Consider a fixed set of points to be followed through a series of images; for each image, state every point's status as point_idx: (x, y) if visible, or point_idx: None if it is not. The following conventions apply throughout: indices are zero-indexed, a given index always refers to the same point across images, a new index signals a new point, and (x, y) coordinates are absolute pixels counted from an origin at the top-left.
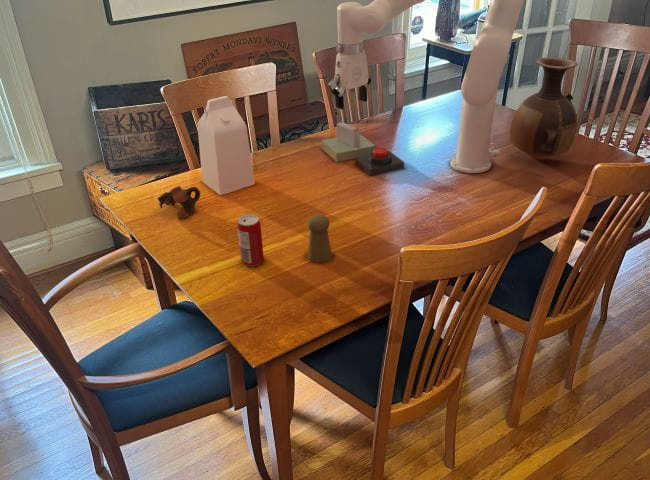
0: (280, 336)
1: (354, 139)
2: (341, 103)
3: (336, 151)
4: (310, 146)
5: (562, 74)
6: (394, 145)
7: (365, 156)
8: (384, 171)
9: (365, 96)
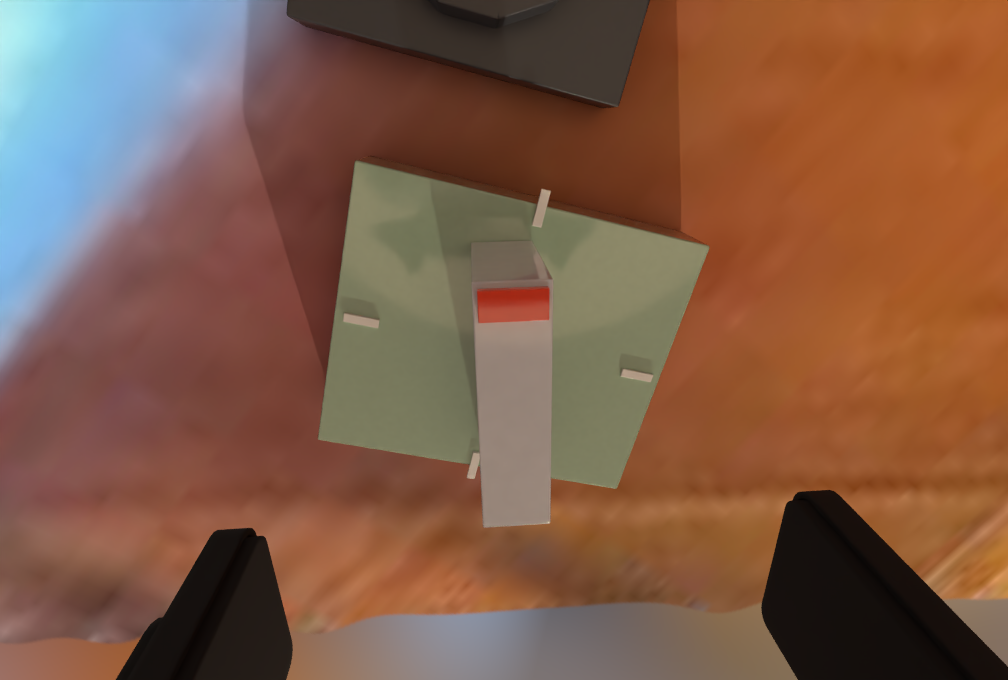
0: None
1: (540, 258)
2: (899, 580)
3: (683, 276)
4: (626, 515)
5: None
6: (129, 190)
7: (542, 68)
8: None
9: (211, 616)
